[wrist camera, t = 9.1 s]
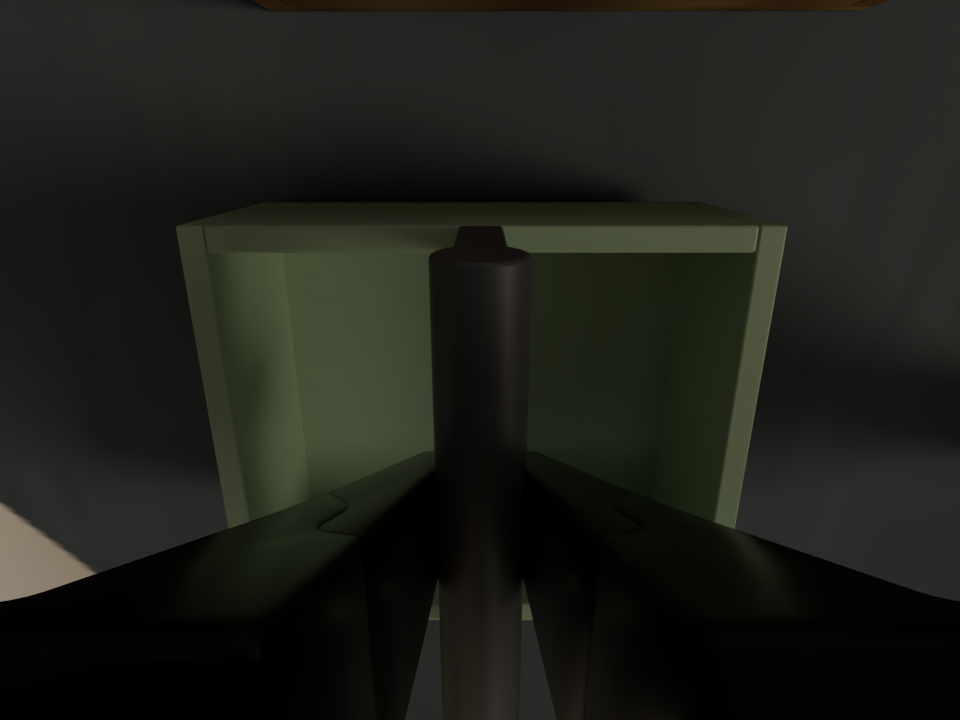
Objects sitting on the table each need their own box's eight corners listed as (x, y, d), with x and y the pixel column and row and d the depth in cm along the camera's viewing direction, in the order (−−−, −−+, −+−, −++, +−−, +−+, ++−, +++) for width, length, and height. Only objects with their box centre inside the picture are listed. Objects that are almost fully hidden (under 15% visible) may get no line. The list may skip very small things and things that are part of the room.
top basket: (300, 508, 18) (168, 771, 10) (261, 202, 15) (35, 262, 7) (663, 508, 18) (794, 773, 10) (701, 201, 15) (927, 262, 7)
